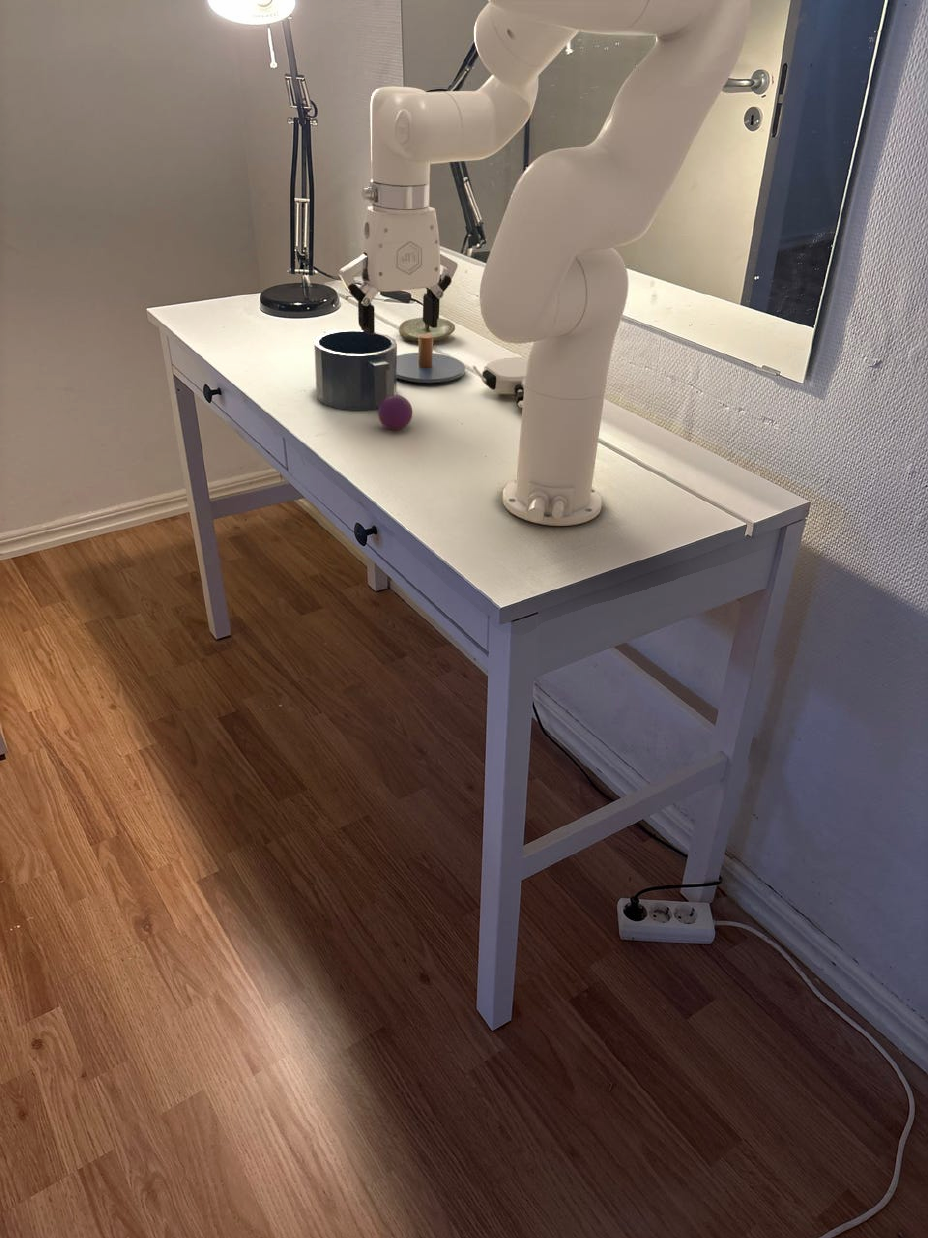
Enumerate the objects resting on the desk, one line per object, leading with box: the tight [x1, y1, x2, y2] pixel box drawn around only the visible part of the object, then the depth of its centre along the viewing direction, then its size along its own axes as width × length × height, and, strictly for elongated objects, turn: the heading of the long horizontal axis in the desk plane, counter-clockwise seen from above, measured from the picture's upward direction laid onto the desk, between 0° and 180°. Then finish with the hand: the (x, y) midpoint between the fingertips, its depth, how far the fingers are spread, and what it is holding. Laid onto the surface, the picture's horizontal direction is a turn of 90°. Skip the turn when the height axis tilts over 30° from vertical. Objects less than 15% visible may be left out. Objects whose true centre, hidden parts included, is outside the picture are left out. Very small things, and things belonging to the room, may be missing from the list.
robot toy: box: [472, 356, 528, 409], centre depth 147 cm, size 12×4×15 cm
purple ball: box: [377, 394, 413, 431], centre depth 134 cm, size 5×5×5 cm
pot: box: [313, 329, 398, 411], centre depth 143 cm, size 12×18×8 cm
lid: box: [398, 316, 456, 342], centre depth 171 cm, size 11×10×5 cm
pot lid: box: [397, 334, 466, 384], centre depth 154 cm, size 13×13×6 cm
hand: (399, 328), depth 130 cm, fingers open, 9 cm apart
